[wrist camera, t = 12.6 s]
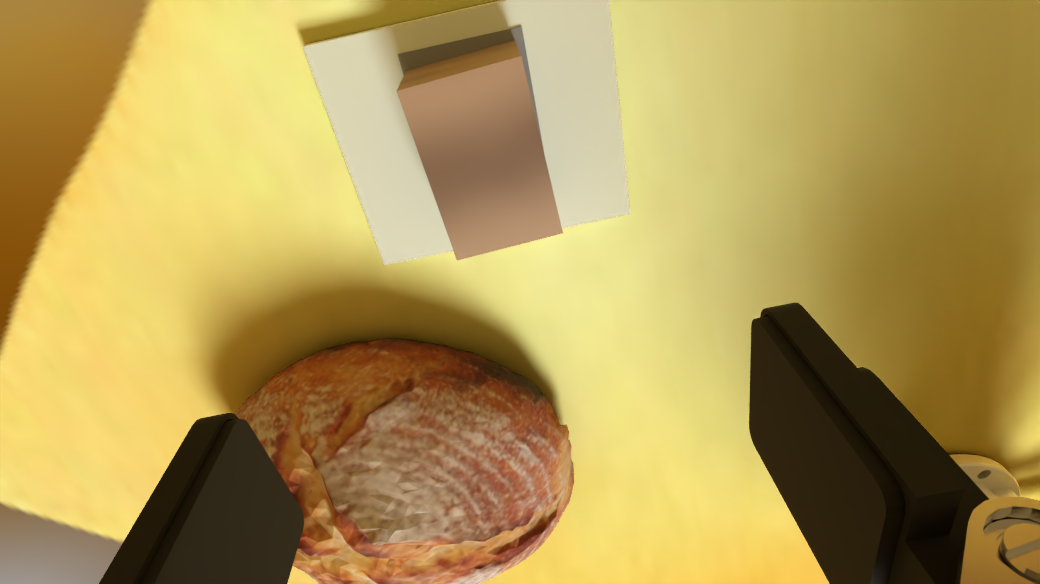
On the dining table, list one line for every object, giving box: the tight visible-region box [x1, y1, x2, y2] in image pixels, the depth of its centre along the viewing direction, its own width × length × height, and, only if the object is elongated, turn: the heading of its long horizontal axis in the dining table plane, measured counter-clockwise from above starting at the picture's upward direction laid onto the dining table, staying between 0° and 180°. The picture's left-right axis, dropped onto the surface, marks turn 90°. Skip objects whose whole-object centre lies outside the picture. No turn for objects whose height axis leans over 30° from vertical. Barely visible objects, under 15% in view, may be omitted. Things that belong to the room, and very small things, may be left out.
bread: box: [235, 339, 574, 584], centre depth 31 cm, size 16×20×10 cm
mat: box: [303, 0, 630, 265], centre depth 25 cm, size 12×10×1 cm
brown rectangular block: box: [396, 40, 563, 260], centre depth 23 cm, size 7×4×4 cm, turn 14°
